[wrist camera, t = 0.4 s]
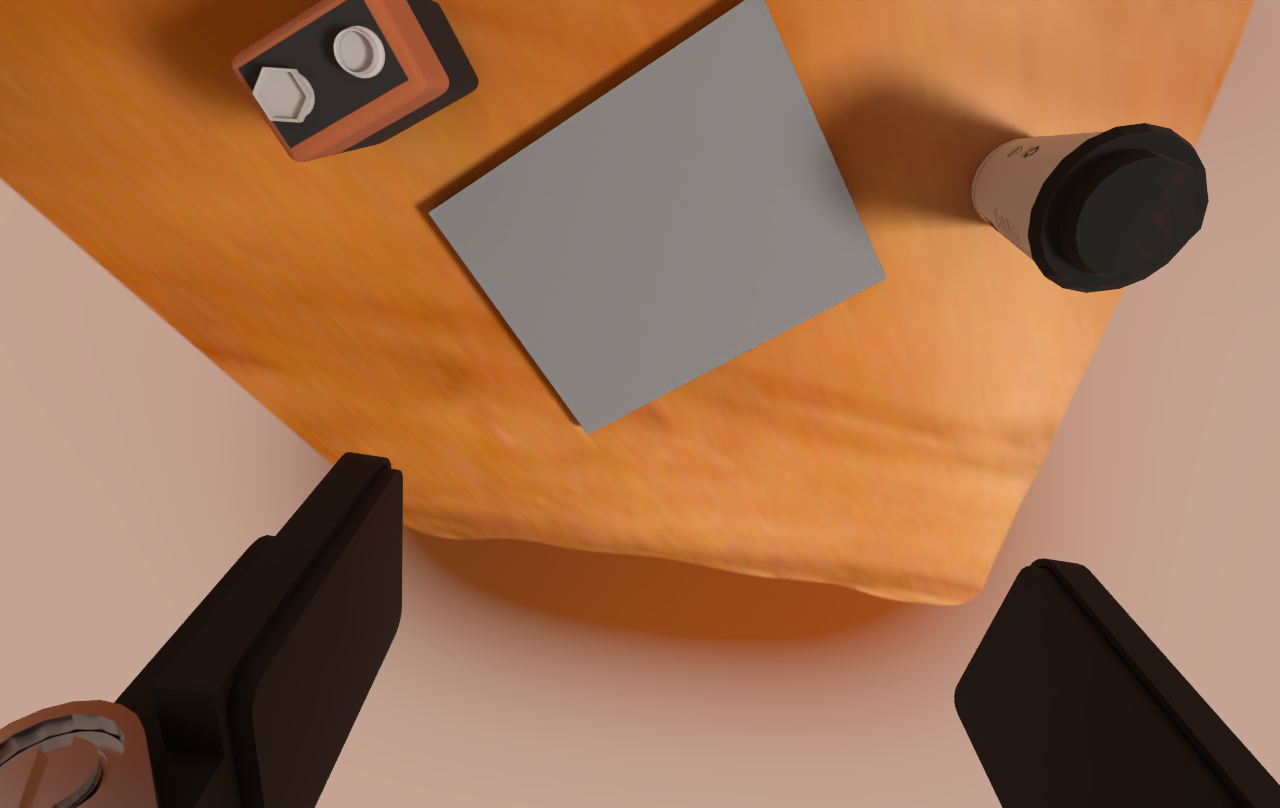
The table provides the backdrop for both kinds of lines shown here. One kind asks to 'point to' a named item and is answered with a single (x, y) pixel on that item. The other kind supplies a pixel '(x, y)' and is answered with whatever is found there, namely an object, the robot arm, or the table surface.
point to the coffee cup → (1095, 202)
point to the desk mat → (667, 223)
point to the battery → (353, 73)
